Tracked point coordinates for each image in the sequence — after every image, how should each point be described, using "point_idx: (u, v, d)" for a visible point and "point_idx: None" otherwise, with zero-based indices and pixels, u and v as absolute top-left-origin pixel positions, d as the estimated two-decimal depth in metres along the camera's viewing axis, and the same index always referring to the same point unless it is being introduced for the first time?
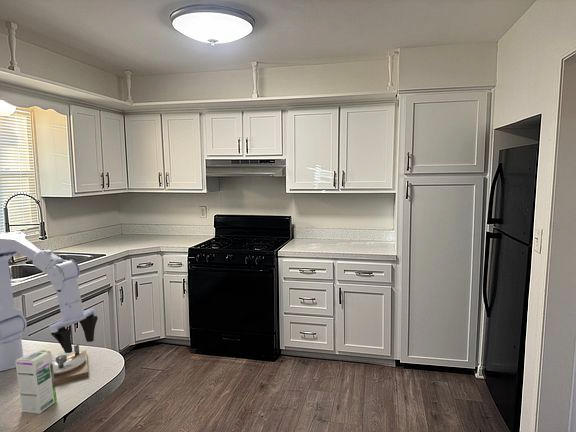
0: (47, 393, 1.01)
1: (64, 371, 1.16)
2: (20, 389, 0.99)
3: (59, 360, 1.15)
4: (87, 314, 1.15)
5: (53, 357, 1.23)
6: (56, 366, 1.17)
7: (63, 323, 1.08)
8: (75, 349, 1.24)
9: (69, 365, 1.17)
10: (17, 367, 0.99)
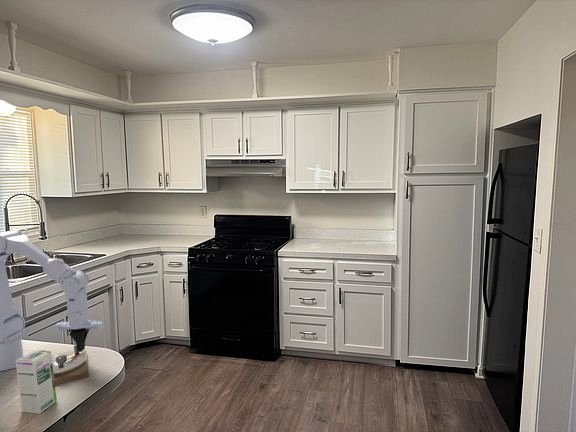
0: (47, 393, 1.01)
1: (64, 371, 1.16)
2: (20, 389, 0.99)
3: (59, 360, 1.15)
4: None
5: (53, 357, 1.23)
6: (56, 366, 1.17)
7: None
8: (75, 349, 1.24)
9: (69, 365, 1.17)
10: (17, 366, 0.99)
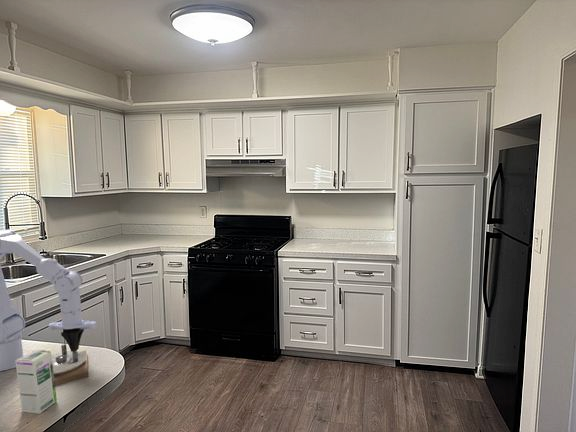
0: (47, 393, 1.01)
1: (81, 362, 1.21)
2: (20, 389, 0.99)
3: (76, 354, 1.19)
4: None
5: None
6: (68, 363, 1.19)
7: None
8: (64, 348, 1.25)
9: (80, 358, 1.22)
10: (17, 366, 0.99)
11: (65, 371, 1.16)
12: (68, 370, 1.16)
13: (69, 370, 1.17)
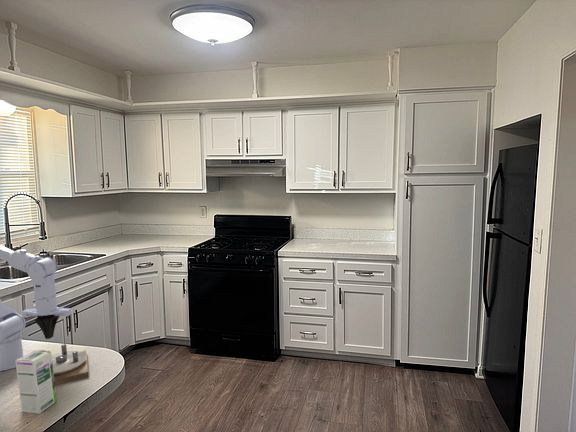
0: (47, 393, 1.01)
1: (81, 362, 1.21)
2: (20, 389, 0.99)
3: (76, 354, 1.19)
4: None
5: None
6: (68, 363, 1.19)
7: None
8: (64, 348, 1.25)
9: (80, 358, 1.22)
10: (17, 366, 0.99)
11: (65, 371, 1.16)
12: (68, 370, 1.16)
13: (69, 370, 1.17)
